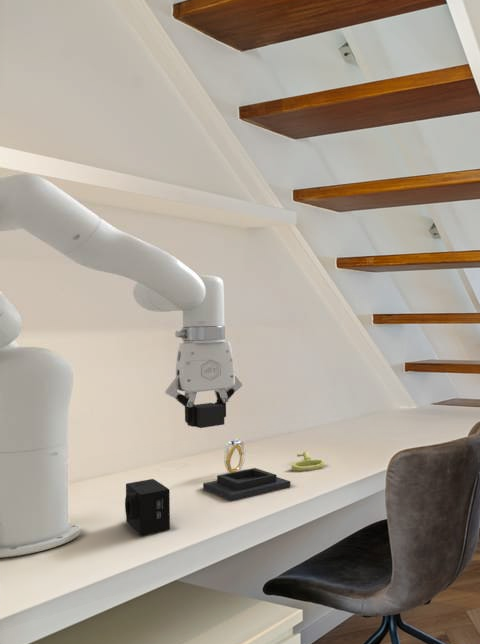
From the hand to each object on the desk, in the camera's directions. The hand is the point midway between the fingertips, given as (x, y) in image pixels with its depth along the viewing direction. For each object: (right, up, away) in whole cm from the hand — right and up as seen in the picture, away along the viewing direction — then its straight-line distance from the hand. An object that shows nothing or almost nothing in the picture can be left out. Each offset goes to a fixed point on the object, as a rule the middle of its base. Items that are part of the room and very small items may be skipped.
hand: (206, 422), depth 122 cm
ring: (-2, -15, +16) cm, 22 cm away
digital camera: (0, -15, -20) cm, 24 cm away
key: (+12, -15, +23) cm, 30 cm away
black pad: (0, 0, 0) cm, 0 cm away
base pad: (+7, -15, +4) cm, 16 cm away
